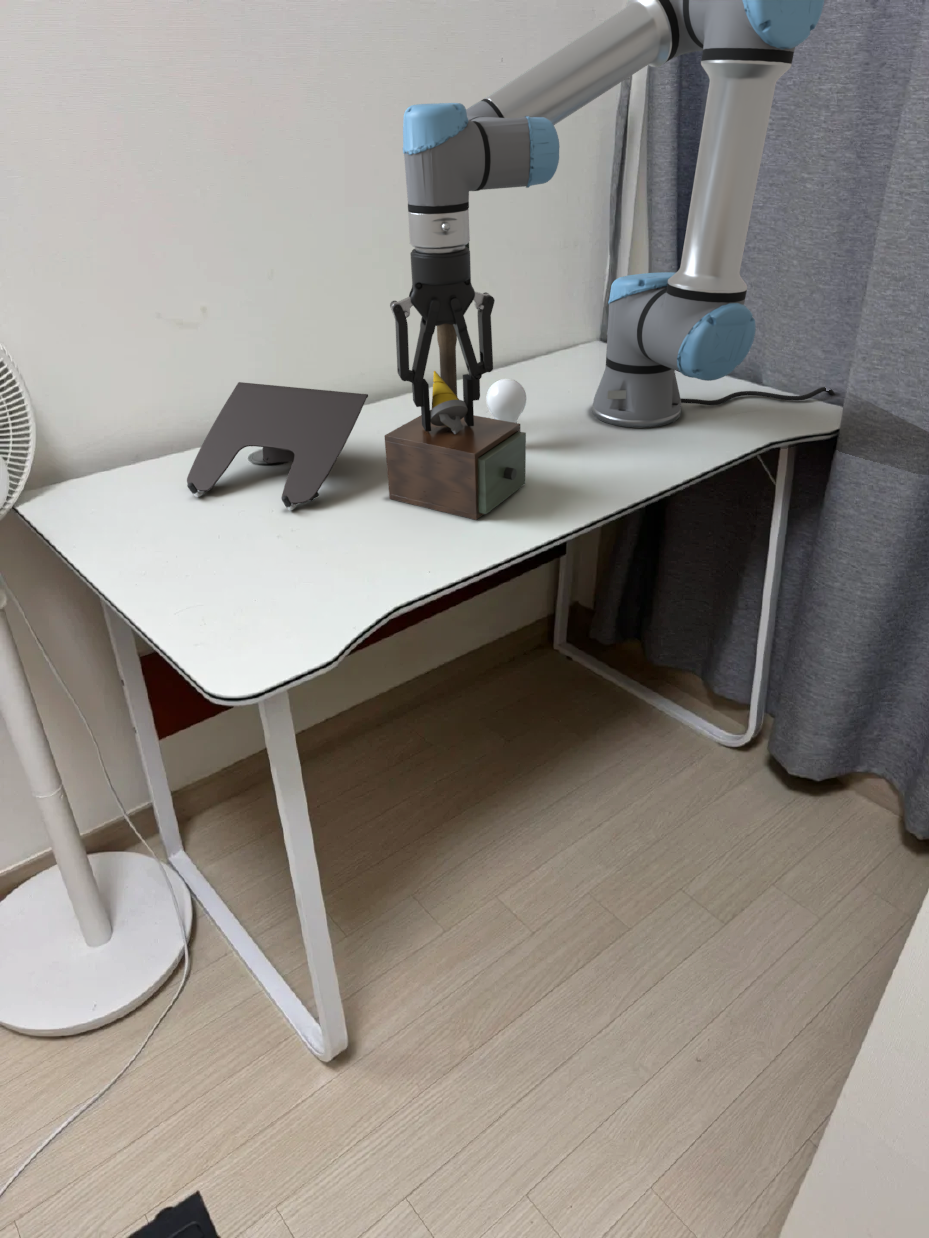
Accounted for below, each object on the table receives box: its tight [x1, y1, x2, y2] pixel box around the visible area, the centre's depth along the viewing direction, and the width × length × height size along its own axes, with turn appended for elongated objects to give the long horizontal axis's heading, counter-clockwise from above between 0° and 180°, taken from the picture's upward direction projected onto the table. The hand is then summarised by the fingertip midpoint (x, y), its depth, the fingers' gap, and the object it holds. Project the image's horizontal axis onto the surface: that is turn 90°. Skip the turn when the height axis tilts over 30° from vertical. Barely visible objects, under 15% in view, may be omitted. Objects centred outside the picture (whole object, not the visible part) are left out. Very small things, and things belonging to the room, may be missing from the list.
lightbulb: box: [485, 377, 527, 423], centre depth 136 cm, size 6×6×11 cm
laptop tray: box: [186, 381, 369, 511], centre depth 130 cm, size 23×23×9 cm
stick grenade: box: [436, 242, 474, 397], centre depth 138 cm, size 8×9×30 cm
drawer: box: [478, 430, 527, 515], centre depth 121 cm, size 15×11×8 cm
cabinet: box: [384, 408, 521, 521], centre depth 122 cm, size 15×13×10 cm
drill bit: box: [430, 370, 468, 434], centre depth 119 cm, size 5×5×10 cm
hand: (447, 425), depth 120 cm, fingers closed on drill bit, 5 cm apart
